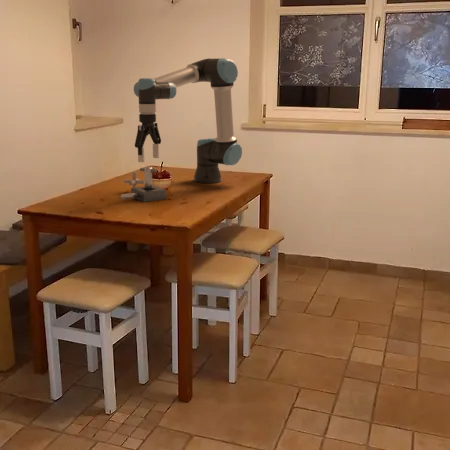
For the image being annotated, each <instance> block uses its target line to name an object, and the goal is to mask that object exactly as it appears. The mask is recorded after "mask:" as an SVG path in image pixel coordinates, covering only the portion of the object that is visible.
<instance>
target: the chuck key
mask: <svg viewBox="0 0 450 450" xmlns="http://www.w3.org/2000/svg"><path fill="white" fill-rule="evenodd" d="M139 171H140V172H144V174H143V175H144V176H143V180H144V181H145V183H144V187H145V190H152V186H153V173H157V169H156V168H155V169H154V168H153V167H152V166H144V167H140V168H139Z"/></svg>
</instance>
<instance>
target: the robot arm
mask: <svg viewBox="0 0 450 450" xmlns="http://www.w3.org/2000/svg"><path fill="white" fill-rule="evenodd" d="M236 64H237V63H235V61H234V60H232V59H231V58H224V57H223V58H222V57H221V58H204V59H201V60H198V61H195V62H192V63H190V64H187V65H186V66H185V68H181V69H178V70H175V71H172V72H168V73H166V74H163V75H160V76H157V77H154V78H152V77H151V78H150V77H148V78H145V77H144V78H139V79H138V81H137V82H135V84H134V86H133V93H134V95H135V96H136V97H138V110H139V111H138V112H139V114H138V119H139V120H138V121H139V122H140V123H141V124H139V125H137V133H136V138H135V140H134V141H135V142H134V147H135V148H136V149H137V159H138V160H137V162H138V163H145V147H144V145H145V141H146V139H147V137H148V136H150V138H151V140H152V158H154V159H159V157H160V156H159V155H160V152H159V151H160V150H159V148H160V147H159V145H161V143H162V138H161V135H160V131H159V128H158V122H157V115H156V112H157V108H156V103H157V102H156V100H171V99H174V98H175V97H176V96H177V88H178V87H179V88H180V87H182V86H184V85H187V84H196V83H202V82H205V83H210V87H211V89H213V93H214V96H213V97H214V107H215V109H214V110H215V123H216V124H215V126H216V135H217V136H216V137H214V138H212V137H211V138H201V139H198V140H197V143H196V169H195V172H194V175H193V182H195V183H202V184H216V183H220V182H222V176H221V175H222V174H221V171H220V168H219V165H224V166H235V165H236V164H238V163H239V162H240V160H241V159H242V156H243V148H242V146H241V144H240V143H238V138H237V137H236V136H235V135H234V123H233V122H234V119H233V106H232V105H233V103H232V102H233V101H232V88H233V87H234V85H235V84H234V82H235V81H236V80H237V78H238V76H239V75H238V74H239V71H238V67H237V65H236Z"/></svg>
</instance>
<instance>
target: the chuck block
mask: <svg viewBox="0 0 450 450" xmlns="http://www.w3.org/2000/svg"><path fill="white" fill-rule="evenodd" d="M120 199H121V200H122V201H123V200H130V199H134V200H137V201H140V202H143V203H148V202H154V201H163V200H167V189H165V188H162V187H159V186H156V185H152V190H145V186H139V187H137V186H136V188H133V187H131V188H130V192H129V193H122V194H120Z"/></svg>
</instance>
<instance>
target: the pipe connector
mask: <svg viewBox="0 0 450 450" xmlns="http://www.w3.org/2000/svg"><path fill="white" fill-rule="evenodd" d="M131 172H132V177H131V178H132V179H131V178H130V179H127V178H125V179H124V181H123V182H124V184H129V186H132V188H136V187H137V184H138V185H139V184H140V185H145V180H144V179H143V180H141V179H140V178H137V171H131Z"/></svg>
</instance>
